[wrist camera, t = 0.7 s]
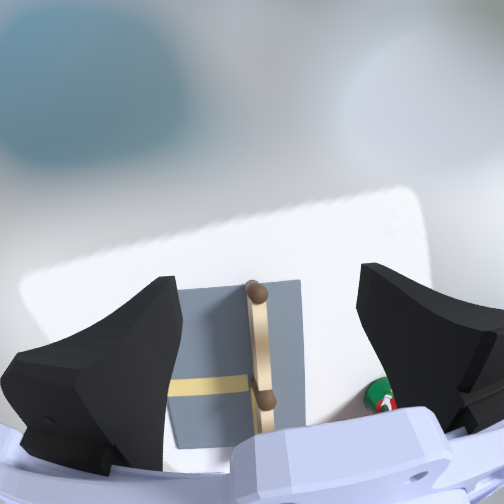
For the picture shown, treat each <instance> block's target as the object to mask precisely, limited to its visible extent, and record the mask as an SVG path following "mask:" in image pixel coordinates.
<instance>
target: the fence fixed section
mask: <svg viewBox="0 0 504 504" xmlns="http://www.w3.org/2000/svg"><path fill="white" fill-rule="evenodd" d="M251 385H252V388H253V392H254V395H255V403H256V414H257V425H258V434H260V433H265V432H270V431H274V430H275V428H274V411H273V409H274V408H275V406H276V404H277V400H276V398H275V395H274V393H273V391H272V389H271V390H263V391H259V389H258V386H257V383H256V380H255V377H254V376H253V377H252V379H251Z"/></svg>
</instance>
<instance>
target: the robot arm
mask: <svg viewBox="0 0 504 504" xmlns="http://www.w3.org/2000/svg"><path fill="white" fill-rule="evenodd" d="M356 309H357V312H358V315H359V318H360V321H361V324H362V327H363V329H364V331H365V333H366V335H367V337H368V339H369V341H370V343H371V345H372V347H373V349H374V350H375V352H376V354H377V356H378V358H379V360H380V362H381V364H382V366H383V368H384V371H385V373H386V375H387V378H388V381H389V384H390V387H391V390H392V393H393V396H394V399H395V403H396V406H397V409H395V410H391V411H387V412H383V413H378V414H374V415H369V416H364V417H359V418H354V419H349V420H343V421H337V422H331V423H324V424H317V425H310V426H302V427H293V428H283V429H279V430H274V431H270V432H265V433H260V434H256V435H255V436H253V437H251V438H249V439H248V440H246V441H244V442H242V443H240V444H239V445H237V446H236V447H234V450H233V453H232V455H231V458H230V473H228V474H225V473H207V474H189V473H173V472H163V436H164V423H165V412H166V403H167V395H168V390H169V385H170V381H171V377H172V373H173V369H174V365H175V362H176V358H177V354H178V350H179V346H180V342H181V336H182V327H183V316H182V311H181V306H180V301H179V296H178V291H177V286H176V280H175V276H163V277H158V278H157V279H155V280H154V281H153V282H151V283H150V284H149V285H148V286H146V287H145V288H144V289H143V290H142V291H140V292H139V293H138V294H137V295H135V296H134V297H133V298H132V299H130V300H129V301H128V302H126V303H125V304H124V305H122V306H121V307H120V308H118V309H117V310H116V311H114V312H113V313H111V314H110V315H108V316H107V317H105V318H104V319H102V320H101V321H99V322H97V323H95V324H94V325H92V326H90V327H88V328H86V329H84V330H82V331H80V332H78V333H76V334H74V335H72V336H70V337H67V338H65V339H62V340H60V341H57V342H54V343H52V344H49V345H46V346H43V347H39V348H35V349H32V350H28V351H24V352H19V353H17V354H16V356H15V357H14V359H13V360H12V362H11V363H10V365H9V366H8V368H7V369H6V371H5V372H4V374H3V375H2V377H1V379H0V385H1V388H2V391H3V394H4V396H5V397H6V399H7V401H8V402H9V404H10V405H11V406H12V407H13V409H14V410H15V412H16V413H17V414H18V415H19V417H20V418H21V419H22V421H23V422H24V423H25V424H26V426H27V429H26V431H25V433H24V434H23V433H22V432H21V431H19V430H18V429H15V428H13V427H10V426H8V425H5V424H2V423H0V501H1V502H2V503H3V504H478V503H479V502H481V501H482V500H484V499H486V498H487V497H489V496H490V495H492V494H493V493H495V492H497V491H498V490H500V489H501V488H503V487H504V310H501V309H496V308H489V307H484V306H480V305H475V304H472V303H468V302H465V301H461V300H458V299H455V298H452V297H449V296H446V295H444V294H441V293H439V292H437V291H434V290H432V289H430V288H428V287H425V286H423V285H421V284H419V283H417V282H415V281H413V280H411V279H409V278H407V277H405V276H403V275H401V274H399V273H397V272H395V271H394V270H392V269H390V268H387V267H385V266H383V265H381V264H378V263H365V264H361V273H360V281H359V289H358V296H357V303H356Z"/></svg>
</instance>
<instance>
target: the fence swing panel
mask: <svg viewBox="0 0 504 504" xmlns="http://www.w3.org/2000/svg"><path fill="white" fill-rule="evenodd" d="M244 290H245V292H246V294H247V304H248V316H249V329H250V341H251V353H252V365H253V374H254V377H255V380H256V383H257V386H258V389H259V391H263V390H271V389H272V380H271V364H270V349H269V335H268V320H267V306H266V300H267V299H268V291H267V289H266V288H265V287H264V286H262V285H261V284H260V283H258V282H257V281H255V280H250V281H248V282H247V283H246V284H245V286H244Z"/></svg>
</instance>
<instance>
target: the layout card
mask: <svg viewBox="0 0 504 504" xmlns="http://www.w3.org/2000/svg"><path fill="white" fill-rule="evenodd" d="M260 284H261V285H262V286H264V287H265V288H266V289H267V291H268V299H267V300H266V306H267V320H268V335H269V349H270V364H271V380H272V391H273V393H274V395H275V398H276V400H277V404H276V406H275V408H274V409H273V411H274V428H275V430H279V429H283V428H293V427H302V426H306V420H305V369H304V341H303V318H302V299H301V282H300V280H290V281H280V282H270V283H260ZM244 286H245V285H236V286H224V287H212V288H199V289H186V290H177V291H178V296H179V301H180V306H181V311H182V316H183V327H182V336H181V342H180V346H179V350H178V354H177V358H176V362H175V365H174V369H173V373H172V377H171V381H170V385H169V390H168V395H167V397H168V401H169V406H170V411H171V416H172V420H173V425H174V429H175V434H176V438H177V442H178V447H179V449H197V448H215V447H228V446H237V445H239V444H240V443H242V442H244V441H246V440H248V439H249V438H251V437H253V436H255V435H256V434H258V425H257V414H256V403H255V395H254V392H253V388H252V385H251V379H252V377H253V376H254V374H253V365H252V353H251V341H250V329H249V316H248V304H247V294H246V292H245V290H244Z"/></svg>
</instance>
